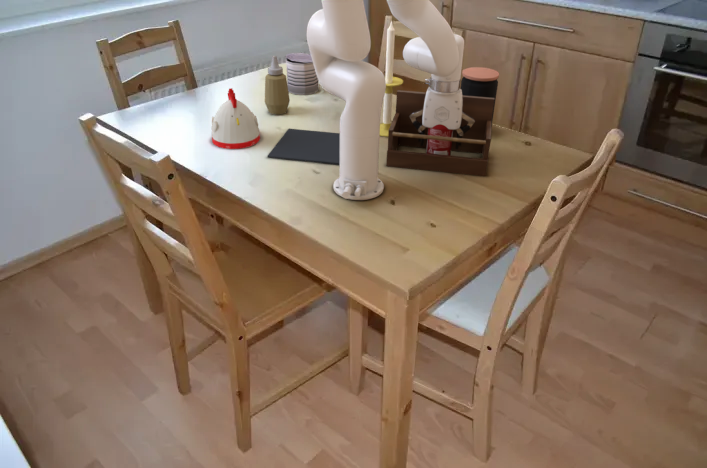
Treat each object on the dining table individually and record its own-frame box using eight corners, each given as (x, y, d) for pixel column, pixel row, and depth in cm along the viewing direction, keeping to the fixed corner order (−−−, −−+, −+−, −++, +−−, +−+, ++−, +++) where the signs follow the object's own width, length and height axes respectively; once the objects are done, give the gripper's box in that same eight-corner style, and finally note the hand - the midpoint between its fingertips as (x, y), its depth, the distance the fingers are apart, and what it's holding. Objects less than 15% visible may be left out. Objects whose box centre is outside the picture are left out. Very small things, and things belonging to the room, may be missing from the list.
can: (290, 83, 214) (288, 50, 208) (321, 85, 214) (320, 52, 207) (284, 94, 205) (282, 60, 198) (316, 95, 204) (315, 61, 198)
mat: (352, 166, 157) (352, 164, 157) (267, 157, 161) (267, 155, 161) (366, 137, 174) (366, 135, 173) (288, 130, 178) (288, 128, 177)
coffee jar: (497, 130, 180) (506, 72, 170) (478, 140, 173) (486, 80, 163) (468, 121, 186) (475, 64, 176) (448, 130, 179) (455, 72, 169)
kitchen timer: (217, 151, 164) (210, 100, 156) (208, 133, 175) (201, 84, 167) (265, 144, 168) (261, 94, 160) (253, 127, 179) (249, 79, 171)
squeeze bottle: (295, 110, 192) (292, 55, 182) (279, 118, 186) (276, 61, 176) (276, 105, 195) (272, 51, 186) (260, 113, 189) (255, 57, 180)
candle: (408, 134, 176) (415, 22, 159) (377, 138, 173) (381, 25, 156) (395, 122, 184) (400, 14, 167) (365, 126, 181) (368, 17, 164)
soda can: (449, 165, 159) (453, 123, 152) (424, 162, 160) (427, 121, 153) (450, 155, 164) (455, 114, 158) (426, 152, 165) (430, 112, 159)
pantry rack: (485, 176, 153) (494, 118, 145) (386, 166, 158) (388, 109, 149) (486, 152, 166) (494, 97, 157) (394, 143, 170) (397, 90, 162)
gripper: (410, 86, 149) (406, 148, 158) (478, 91, 146) (470, 154, 155) (413, 77, 155) (409, 137, 164) (479, 82, 152) (471, 143, 162)
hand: (439, 145), depth 160 cm, fingers open, 9 cm apart
